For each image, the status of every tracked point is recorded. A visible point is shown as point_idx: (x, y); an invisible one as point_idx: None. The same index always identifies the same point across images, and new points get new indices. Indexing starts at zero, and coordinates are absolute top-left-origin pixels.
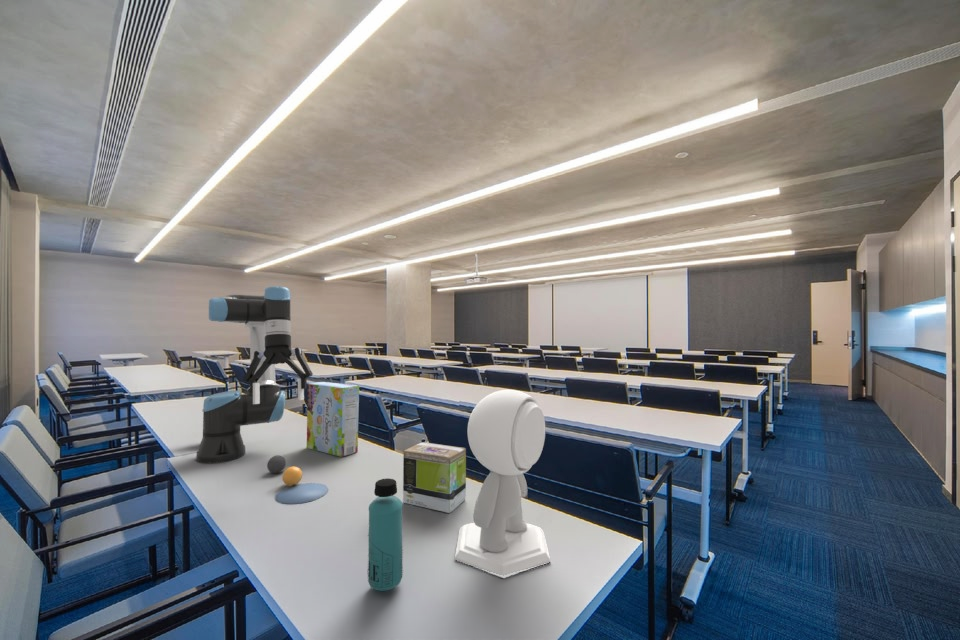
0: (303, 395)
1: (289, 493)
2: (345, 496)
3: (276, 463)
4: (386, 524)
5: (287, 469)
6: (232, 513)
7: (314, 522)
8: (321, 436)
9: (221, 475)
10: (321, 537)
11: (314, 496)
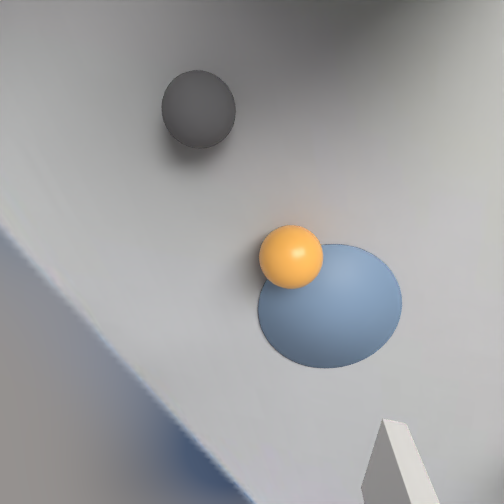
0: (415, 462)
1: (294, 309)
2: (446, 351)
3: (206, 146)
4: None
5: (276, 276)
6: (184, 381)
7: (372, 448)
8: None
9: (3, 95)
10: None
11: (365, 342)
